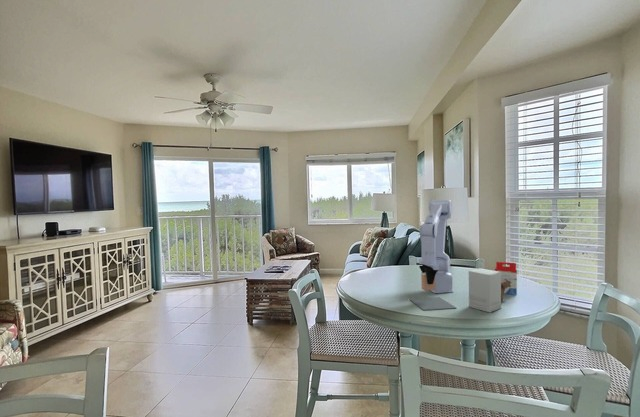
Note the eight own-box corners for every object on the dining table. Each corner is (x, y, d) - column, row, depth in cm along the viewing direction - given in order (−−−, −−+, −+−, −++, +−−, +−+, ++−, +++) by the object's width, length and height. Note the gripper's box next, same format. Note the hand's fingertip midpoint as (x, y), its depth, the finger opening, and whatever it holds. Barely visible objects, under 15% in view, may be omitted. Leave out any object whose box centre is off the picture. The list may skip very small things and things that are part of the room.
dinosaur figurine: (497, 296, 143) (497, 276, 143) (511, 299, 138) (511, 278, 138) (480, 302, 136) (480, 280, 136) (494, 305, 131) (494, 283, 131)
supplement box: (502, 308, 128) (502, 271, 127) (489, 313, 123) (489, 274, 122) (480, 302, 135) (480, 267, 135) (467, 306, 130) (467, 270, 130)
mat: (439, 297, 142) (439, 297, 142) (456, 308, 128) (456, 307, 128) (409, 299, 140) (409, 298, 140) (423, 310, 127) (423, 309, 127)
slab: (432, 287, 139) (432, 272, 138) (435, 289, 136) (435, 273, 136) (421, 288, 138) (421, 272, 138) (424, 290, 136) (424, 274, 135)
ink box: (515, 292, 149) (515, 261, 149) (516, 295, 145) (517, 263, 144) (494, 290, 153) (494, 259, 152) (495, 293, 148) (495, 261, 148)
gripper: (412, 249, 143) (412, 279, 144) (427, 255, 129) (427, 288, 129) (427, 248, 144) (427, 278, 145) (443, 254, 130) (443, 287, 130)
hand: (428, 283), depth 137 cm, fingers closed on slab, 3 cm apart
